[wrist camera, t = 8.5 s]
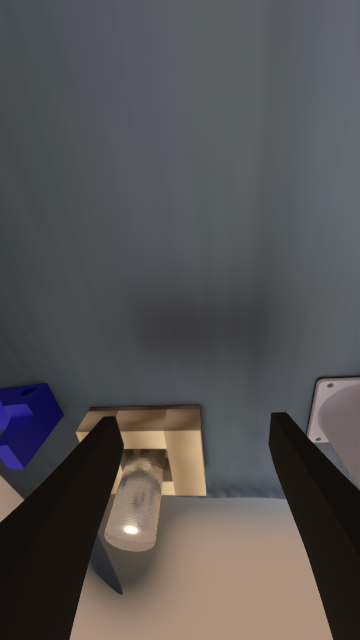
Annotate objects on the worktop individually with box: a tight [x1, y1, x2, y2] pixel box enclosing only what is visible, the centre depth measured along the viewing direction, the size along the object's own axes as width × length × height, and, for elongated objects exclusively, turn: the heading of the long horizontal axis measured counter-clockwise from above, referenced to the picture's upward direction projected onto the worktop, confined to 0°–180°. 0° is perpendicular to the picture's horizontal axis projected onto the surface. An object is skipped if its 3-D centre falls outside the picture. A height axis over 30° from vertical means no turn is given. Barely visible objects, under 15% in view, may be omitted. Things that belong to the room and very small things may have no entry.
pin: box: [104, 449, 167, 551], centre depth 20 cm, size 4×4×8 cm
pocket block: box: [76, 405, 206, 496], centre depth 22 cm, size 12×10×3 cm
